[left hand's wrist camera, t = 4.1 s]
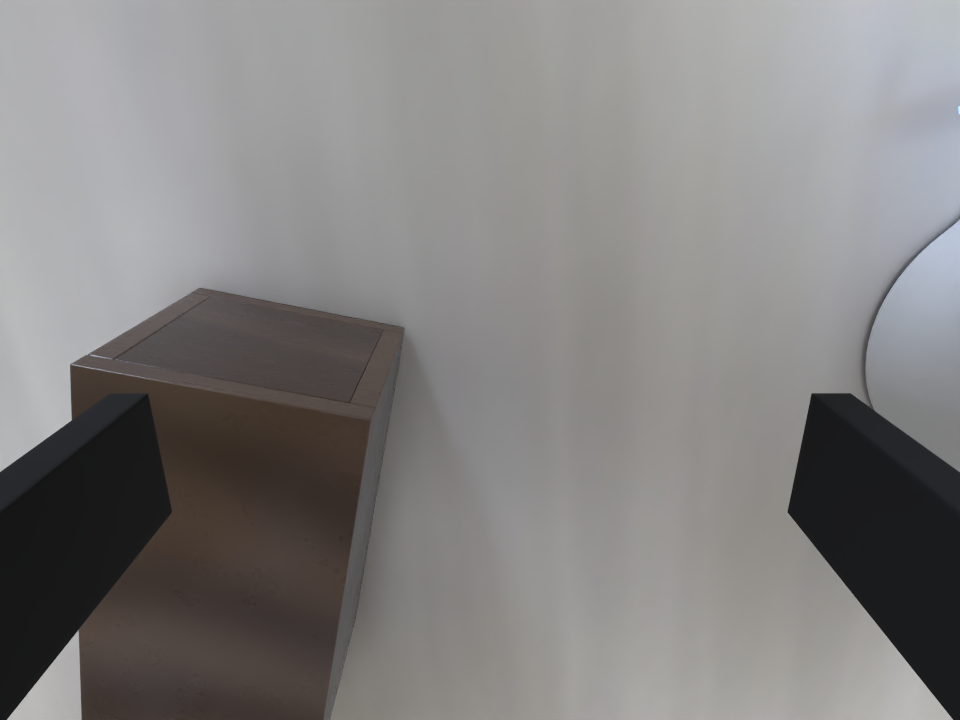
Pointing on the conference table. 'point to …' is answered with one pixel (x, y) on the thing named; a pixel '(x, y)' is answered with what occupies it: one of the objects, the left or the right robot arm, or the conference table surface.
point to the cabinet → (242, 509)
